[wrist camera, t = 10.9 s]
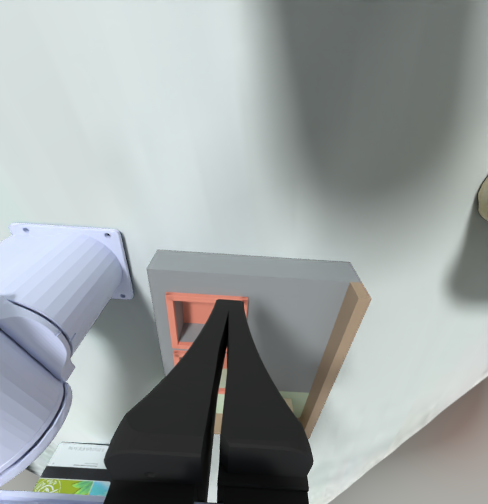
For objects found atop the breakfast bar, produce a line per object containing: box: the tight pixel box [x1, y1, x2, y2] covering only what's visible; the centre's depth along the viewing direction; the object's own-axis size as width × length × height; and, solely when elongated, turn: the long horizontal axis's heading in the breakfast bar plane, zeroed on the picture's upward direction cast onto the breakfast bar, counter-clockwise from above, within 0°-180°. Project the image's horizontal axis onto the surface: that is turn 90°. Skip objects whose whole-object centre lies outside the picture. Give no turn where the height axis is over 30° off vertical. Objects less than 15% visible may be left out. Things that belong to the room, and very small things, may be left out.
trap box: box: [147, 250, 371, 439], centre depth 28 cm, size 18×24×5 cm
